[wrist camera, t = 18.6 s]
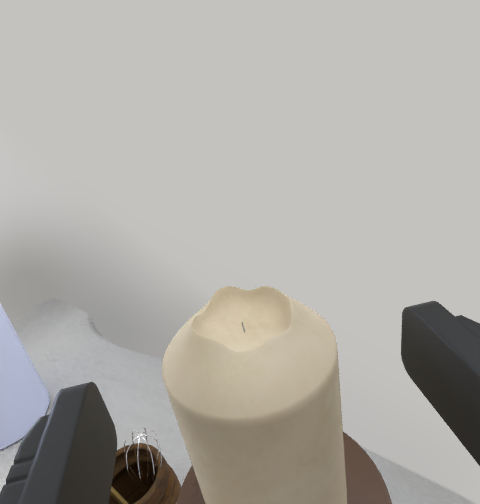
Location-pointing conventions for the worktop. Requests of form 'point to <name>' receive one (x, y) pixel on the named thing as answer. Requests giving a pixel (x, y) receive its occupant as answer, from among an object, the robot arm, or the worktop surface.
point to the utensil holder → (143, 476)
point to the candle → (259, 400)
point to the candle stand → (357, 479)
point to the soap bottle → (18, 387)
